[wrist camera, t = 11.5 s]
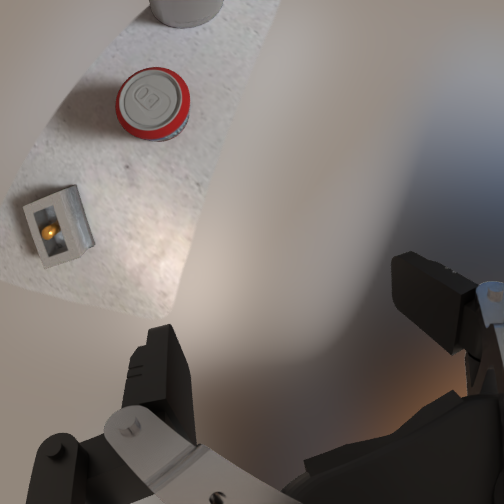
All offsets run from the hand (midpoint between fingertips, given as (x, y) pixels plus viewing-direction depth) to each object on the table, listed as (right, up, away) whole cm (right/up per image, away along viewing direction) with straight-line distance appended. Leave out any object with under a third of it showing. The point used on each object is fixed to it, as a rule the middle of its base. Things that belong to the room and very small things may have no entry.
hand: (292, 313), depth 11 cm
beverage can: (-12, +18, +24) cm, 32 cm away
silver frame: (-25, +5, +24) cm, 35 cm away
